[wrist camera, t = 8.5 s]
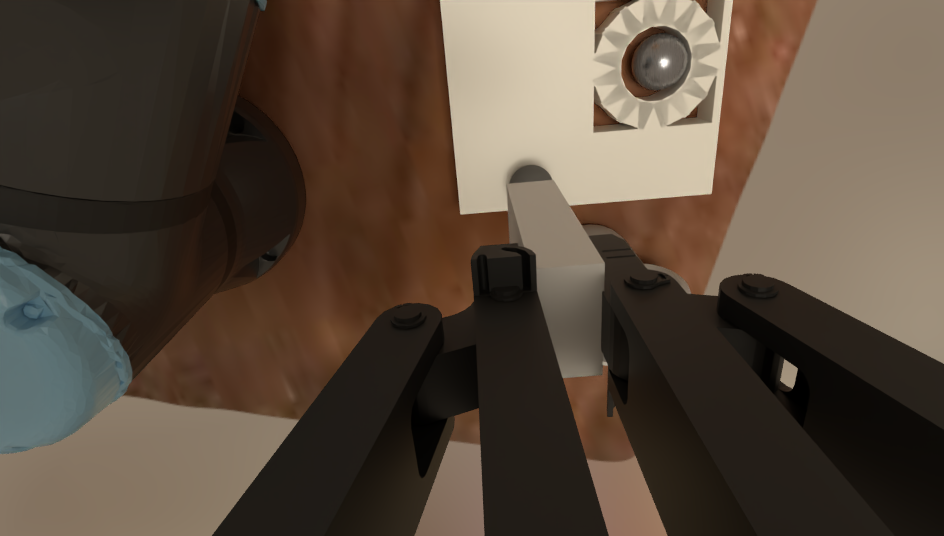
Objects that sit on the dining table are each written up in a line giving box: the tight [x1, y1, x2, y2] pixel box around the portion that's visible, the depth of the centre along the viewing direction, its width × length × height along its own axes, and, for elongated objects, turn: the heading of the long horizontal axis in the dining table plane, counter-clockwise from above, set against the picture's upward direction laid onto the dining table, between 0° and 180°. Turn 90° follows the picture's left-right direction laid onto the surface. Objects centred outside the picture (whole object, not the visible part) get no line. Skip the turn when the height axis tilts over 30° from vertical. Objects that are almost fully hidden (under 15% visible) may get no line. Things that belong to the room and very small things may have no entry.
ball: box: [631, 33, 688, 90], centre depth 34 cm, size 4×4×4 cm
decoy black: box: [509, 165, 552, 184], centre depth 35 cm, size 3×3×3 cm
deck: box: [440, 0, 733, 214], centre depth 35 cm, size 18×18×2 cm
